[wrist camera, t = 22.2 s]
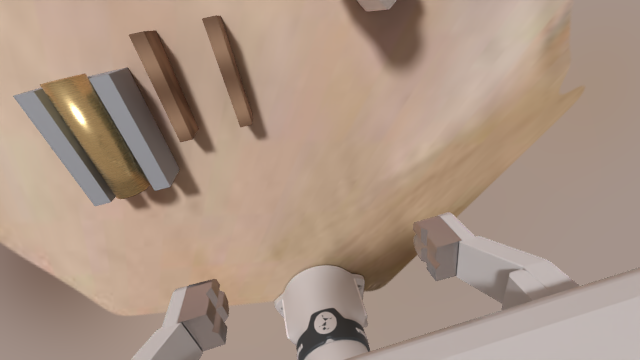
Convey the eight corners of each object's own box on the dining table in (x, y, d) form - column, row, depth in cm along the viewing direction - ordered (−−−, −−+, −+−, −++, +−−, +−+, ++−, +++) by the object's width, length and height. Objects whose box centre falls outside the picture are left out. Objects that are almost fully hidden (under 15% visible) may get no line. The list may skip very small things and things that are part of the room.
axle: (154, 178, 38) (142, 194, 35) (125, 185, 38) (110, 201, 35) (93, 71, 31) (70, 78, 28) (57, 79, 31) (29, 87, 28)
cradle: (179, 169, 41) (170, 186, 36) (112, 186, 40) (94, 206, 36) (127, 67, 34) (108, 74, 29) (45, 86, 33) (13, 96, 29)
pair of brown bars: (252, 115, 39) (252, 124, 36) (187, 131, 38) (180, 142, 35) (220, 16, 33) (216, 15, 29) (142, 33, 32) (128, 34, 29)
